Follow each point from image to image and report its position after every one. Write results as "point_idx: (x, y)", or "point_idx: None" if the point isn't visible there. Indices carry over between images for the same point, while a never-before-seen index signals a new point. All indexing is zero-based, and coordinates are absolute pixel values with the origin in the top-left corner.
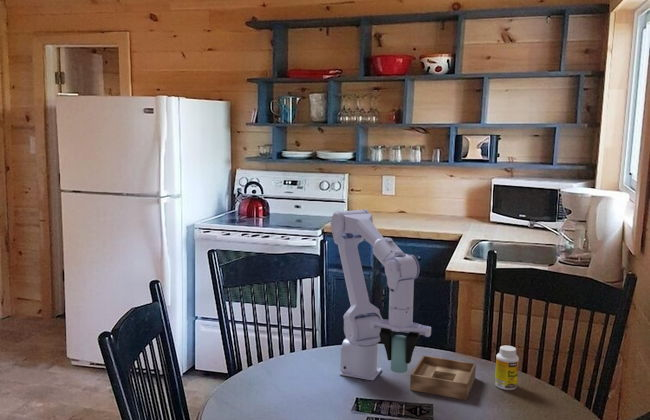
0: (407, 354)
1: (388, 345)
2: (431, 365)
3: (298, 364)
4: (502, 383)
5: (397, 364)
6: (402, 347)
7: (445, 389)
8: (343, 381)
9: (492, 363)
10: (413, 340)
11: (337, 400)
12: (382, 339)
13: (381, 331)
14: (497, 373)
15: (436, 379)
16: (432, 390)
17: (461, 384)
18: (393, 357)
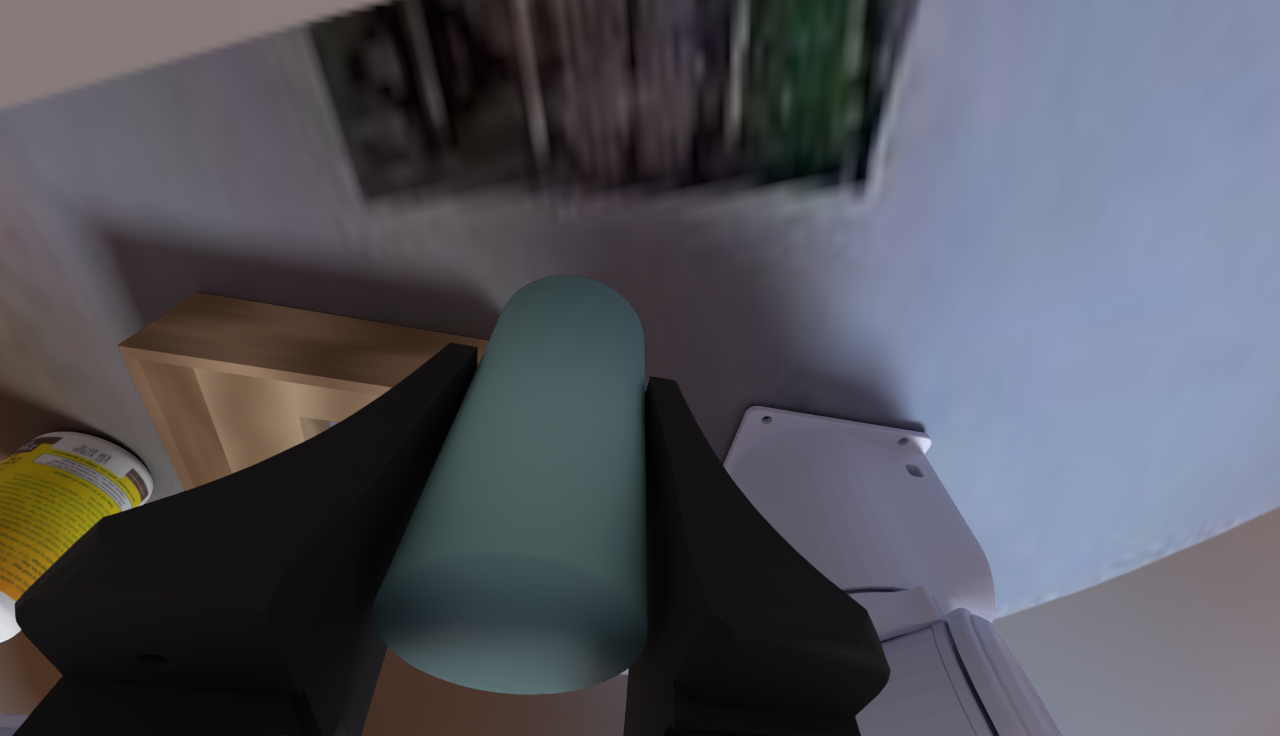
0: (422, 394)
1: (684, 489)
2: None
3: (1122, 496)
4: (61, 454)
5: (567, 315)
6: (468, 463)
7: (308, 336)
8: (916, 374)
9: None
10: (110, 538)
11: (1010, 107)
12: (796, 563)
13: (839, 727)
14: (62, 505)
15: (342, 377)
16: (399, 338)
17: (167, 347)
18: (611, 374)
